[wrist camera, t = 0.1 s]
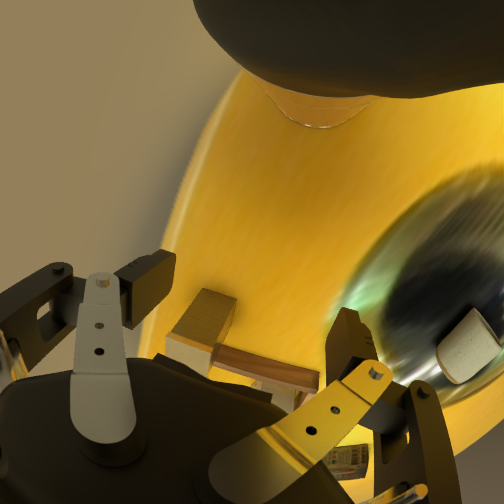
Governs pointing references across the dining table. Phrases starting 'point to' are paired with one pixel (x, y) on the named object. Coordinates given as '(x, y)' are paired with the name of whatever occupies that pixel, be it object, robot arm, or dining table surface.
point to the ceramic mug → (467, 348)
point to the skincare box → (278, 395)
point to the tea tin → (201, 331)
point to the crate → (270, 372)
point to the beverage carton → (348, 462)
